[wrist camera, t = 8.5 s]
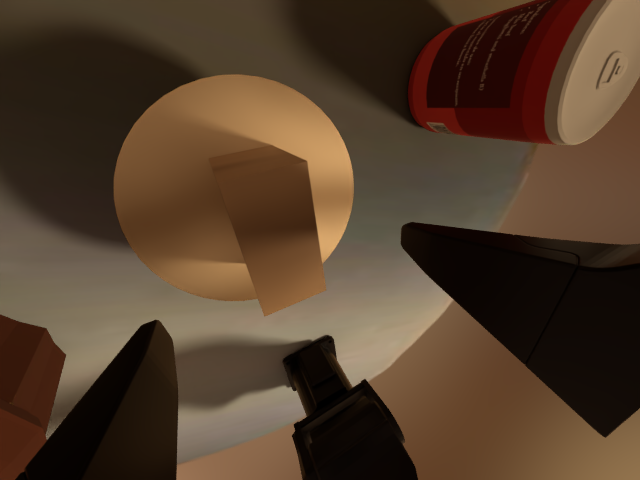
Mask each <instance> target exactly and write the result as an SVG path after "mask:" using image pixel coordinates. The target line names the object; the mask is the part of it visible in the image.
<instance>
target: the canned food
mask: <svg viewBox="0 0 640 480" xmlns="http://www.w3.org/2000/svg"><path fill="white" fill-rule="evenodd" d="M639 76H640V0H535V1H532V2H529V3H526V4H522V5H519V6H516V7H513V8H510V9H507V10H503V11H500V12H497V13H494V14H491V15H487V16H484V17H481V18H478V19H475V20H472V21H468V22H465V23H462V24H459V25H456V26H452V27H450V28H448V29H446V30H443V31H442V32H441V33H439V34H438V35H437V36H435V37H434V38H433V39H432V40H430V41H429V42H428V43H427V44H426V45H425V47H424V48H423V49H422V50H421V52H420V54H419V55H418V57H417V59H416V61H415V63H414V66H413V68H412V71H411V75H410V79H409V85H408V101H409V107H410V111H411V114H412V116H413V117H414V119H415V121H416V122H417V123H418V124H419V125H421V126H422V127H424V128H426V129H427V130H429V131H432V132H437V133H447V134H456V135H465V136H475V137H484V138H493V139H503V140H512V141H521V142H531V143H544V144H554V145H564V144H565V145H576V144H579V143H582V142H584V141H586V140H587V139H589V138H590V137H592V136H593V135H594V134H595V133H597V132H598V131H599V130H600V129H601V128H602V127H603V126H604V125H605V124H606V123H607V122H608V121H609V120H610V119H611V118H612V117H613V115H614V114H615V113H616V112H617V110H618V109H619V108H620V107H621V105H622V104H623V102H624V101H625V99H626V98H627V96H628V95H629V93H630V92H631V90H632V88H633V87H634V85H635V84H636V82H637V80H638V78H639Z"/></svg>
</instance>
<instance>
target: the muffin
mask: <svg viewBox="0 0 640 480" xmlns="http://www.w3.org/2000/svg"><path fill="white" fill-rule="evenodd" d="M65 358H66V354H65V353H64V352H63V351H62V350H61V349H60V348H59V347H58V346H57V345H56V344H55V343H54V342H53V340H52V338H51V336H50V334H49V332H48V331H47V329H46V328H42V327H38V326H34V325H30V324H26V323H22V322H18V321H16V320H13V319H10V318H8V317H5V316H2V315H0V480H15V479H16V478H17V476H18V475H19V474H20V473H21V472H25V471H24V469H25V467H26V466H27V464H28V463H29V462H30V461H31V459H32V458H33V457H34V456H35V455H36V453H37V452H38V451H39V450H40V448H41V447H42V446H43V445H44V444H45V442H46V441H47V439H46V436H45V434H46V430H47V427H48V423H49V419H50V415H51V411H52V407H53V404H54V400H55V396H56V392H57V388H58V384H59V381H60V377H61V373H62V369H63V365H64V361H65Z"/></svg>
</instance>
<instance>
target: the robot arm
mask: <svg viewBox="0 0 640 480" xmlns="http://www.w3.org/2000/svg"><path fill="white" fill-rule="evenodd" d="M401 246H402V248H403V249H404V250H405V251H406V252H407V253H408V255H409V256H410V257H411V258H412V259H413V260H414V261H415V262H416V264H417V265H418V266H419V267H420V268H421V269H422V270H423V271H424V272H425V273H426V274H427V275H428V276H429V277H430V278H431V279H432V280H433V281H434V282H435V283H436V284H437V285H438V286H439V287H441V288H442V289H443V290H444V291H445V292H446V293H447V294H448V295H449V296H450V297H451V298H452V299H454V300H455V301H456V302H457V303H458V304H459V305H460V306H461V307H462V308H463V309H464V310H466V311H467V312H468V313H469V314H470V315H471V316H472V317H473V318H474V319H475V320H476V321H478V322H479V323H480V324H481V325H482V326H483V327H484V328H485V329H486V330H487V331H488V332H490V333H491V334H492V335H493V336H494V337H495V338H496V339H497V340H498V341H499V342H500V343H502V344H503V345H504V346H505V347H506V348H507V349H508V350H509V351H510V352H511V353H512V354H513V355H515V356H516V357H517V358H518V359H519V360H520V361H521V362H522V363H523V364H525V366H526V367H527V368H528V369H530V370H531V371H532V372H533V373H534V374H535V375H536V376H537V377H539V379H540V380H541V381H542V382H544V383H545V384H546V385H547V386H548V387H549V388H550V389H551V390H552V391H553V392H555V394H557V395H558V396H559V397H560V398H561V399H562V400H563V401H564V402H565V403H566V404H567V405H569V406H570V407H571V408H572V409H573V410H574V411H575V412H576V413H577V414H578V415H579V416H580V417H582V418H583V419H584V420H585V421H586V422H587V423H588V424H589V425H590V426H591V427H592V428H594V429H595V430H596V431H597V432H598V433H599V434H601V435H602V436H603V437H607V436H608V435H609V434H611V433H612V432H613V431H614V430H615V429H616V428H617V427H619V426H620V425H621V424H622V423H623V422H624V421H626V420H627V419H628V418H629V417H630V416H631V415H632V414H633V413H635V412H636V411H637V410H638V409H639V408H640V244H631V245H620V244H605V243H592V242H581V241H569V240H559V239H547V238H539V237H530V236H521V235H512V234H504V233H497V232H489V231H480V230H472V229H464V228H456V227H448V226H440V225H432V224H424V223H415V222H410V223H407V224H405V225H403V226H402V228H401ZM283 364H284V367H285V369H286V372H287V375H288V378H289V381H290V384H291V387H292V389H293V391H296V390H297V392H298V395H299V397H300V400H301V402H302V405H303V408H304V410H305V413H306V416H307V417H306V418H305V419H303V420H302V421H300V422H297V423H295V424H294V428H295V432H294V434H293V435H292V437H293V440H294V444H295V447H296V450H297V454H298V458H299V464H300V468H301V474H302V479H303V480H418V478H417V473H416V468H415V466H414V464H413V462H412V460H411V458H410V457H409V455H408V453H407V451H406V450H405V448H404V446H403V443H405V439H404V436H403V434H402V431H401V429H400V427H399V425H398V424H397V422H396V420H395V418H394V417H393V415H392V414H391V412H390V411H389V409H388V408H387V406H386V405H385V404H384V403H383V401H382V400H381V399H380V397H379V396H378V395H377V393H376V392H375V391H374V390H373V388H372V387H371V386H370V384H369V383H368V382H367V381H366V379H364V380H362V381H361V383H359V384H358V385H356V386H355V387H352V385H351V384H350V382H349V380H348V378H347V377H346V375H345V373H344V372H343V370H342V368H341V366H340V365H339V363H338V361H337V358H336V351H335V344H334V339H333V338H332V336H329V337H327V338H325V339H323V340H321V341H319V342H317V343H315V344H313V345H311V346H309V347H307V348H305V349H303V350H301V351H299V352H297V353H295V354H293V355H291V356H289V357H287V358H285V359H284V360H283ZM177 429H178V384H177V374H176V365H175V355H174V346H173V341H172V338H171V336H170V335H169V333H168V332H167V330H166V329H165V328H164V326H163V325H162V323H161V322H160V321H159V320H154V321H151V322H148V323H146V324H143V325H142V326H140V328H139V329H138V330H137V331H136V332H135V334H134V335H133V336H132V337H131V339H130V340H129V341H128V342H127V343H126V345H125V346H124V347H123V348H122V350H121V351H120V352H119V353H118V354H117V356H116V357H115V358H114V359H113V361H112V362H111V363H110V364H109V365H108V367H107V368H106V369H105V370H104V371H103V373H102V374H101V375H100V376H99V378H98V379H97V380H96V381H95V382H94V384H93V385H92V386H91V387H90V389H89V390H88V391H87V392H86V393H85V395H84V396H83V397H82V398H81V400H80V401H79V402H78V403H77V404H76V406H75V407H74V408H73V409H72V411H71V412H70V413H69V414H68V415H67V417H66V418H65V419H64V420H63V422H62V423H61V424H60V425H59V426H58V428H57V429H56V430H55V431H54V433H53V434H52V435H51V436H50V437H49V439H48V440H47V441H46V442H45V444H44V445H43V446H42V447H41V448H40V450H39V451H38V452H37V453H36V455H35V456H34V457H33V458H32V459H31V461H30V462H29V463H28V464H27V466H26V467H25V469H24V471H25V472H21V473H20V474H19V475H18V476H17V478H16V479H15V480H176V470H177Z"/></svg>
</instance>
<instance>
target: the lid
mask: <svg viewBox="0 0 640 480" xmlns="http://www.w3.org/2000/svg"><path fill="white" fill-rule="evenodd" d="M353 195H354V181H353V172H352V166H351V162H350V158H349V154H348V152H347V149H346V146H345V144H344V142H343V140H342V138H341V136H340V134H339V132H338V130H337V129H336V128H335V126H334V125H333V123H332V122H331V120H330V119H329V118H328V117H327V116H326V115H325V114H324V113H323V111H322V110H321V109H320V108H319V107H318V106H316V105H315V104H314V103H313V102H312V101H310V100H309V99H308V98H307V97H305V96H303V95H302V94H300V93H299V92H297V91H295V90H294V89H292V88H290V87H287V86H285V85H283V84H281V83H278V82H276V81H272V80H269V79H265V78H261V77H257V76H248V75H240V74H239V75H218V76H213V77H207V78H202V79H199V80H196V81H193V82H190V83H188V84H185V85H182V86H180V87H178V88H176V89H175V90H173V91H171V92H169V93H168V94H166V95H164V96H163V97H161V98H160V99H159V100H158V101H156V102H155V103H154V104H153V105H152V106H150V107H149V108H148V109H147V110H146V111H145V112H144V113H143V115H142V116H141V117H140V118H139V119H138V120H137V122H136V123H135V124H134V125H133V127H132V129H131V130H130V132H129V134H128V135H127V137H126V139H125V140H124V143H123V145H122V148H121V151H120V153H119V156H118V159H117V164H116V169H115V174H114V201H115V208H116V214H117V217H118V220H119V223H120V226H121V229H122V231H123V233H124V235H125V237H126V239H127V241H128V243H129V245H130V246H131V248H132V249H133V250H134V252H135V253H136V254H137V256H138V257H139V258H140V260H141V261H142V262H143V263H144V264H145V265H146V266H147V267H148V268H149V269H150V270H151V271H152V272H154V273H155V274H156V275H158V276H159V277H160V278H162V279H163V280H164V281H166V282H168V283H169V284H171V285H173V286H175V287H176V288H178V289H181V290H183V291H186V292H188V293H190V294H193V295H197V296H200V297H204V298H209V299H215V300H224V301H245V300H252V299H258V300H259V302H260V305H261V308H262V311H263V313H264V316H267V315H269V314H272V313H274V312H276V311H279V310H281V309H283V308H286V307H288V306H290V305H293V304H295V303H297V302H300V301H302V300H304V299H307V298H309V297H311V296H314V295H316V294H318V293H321V292H323V291H325V290H326V285H325V279H324V272H323V265H322V263H323V262H324V261H325V260H326V259H327V258H328V257H329V255H330V254H331V253H332V252H333V250H334V249H335V247H336V246H337V244H338V242H339V241H340V239H341V237H342V235H343V233H344V231H345V229H346V226H347V223H348V220H349V217H350V213H351V209H352V203H353Z"/></svg>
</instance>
